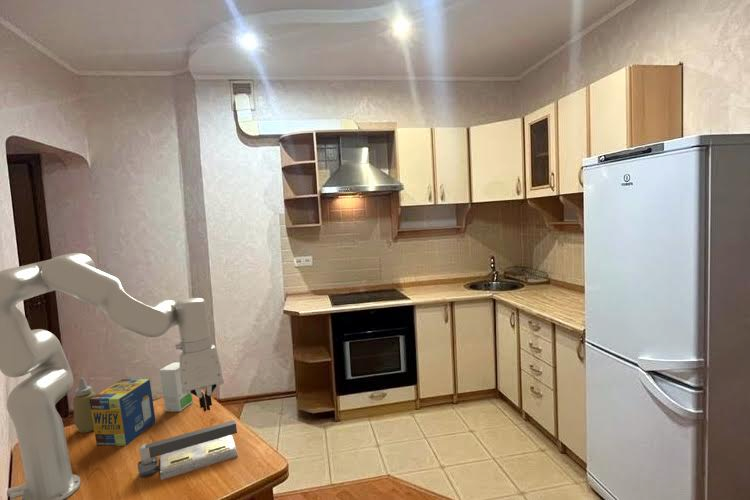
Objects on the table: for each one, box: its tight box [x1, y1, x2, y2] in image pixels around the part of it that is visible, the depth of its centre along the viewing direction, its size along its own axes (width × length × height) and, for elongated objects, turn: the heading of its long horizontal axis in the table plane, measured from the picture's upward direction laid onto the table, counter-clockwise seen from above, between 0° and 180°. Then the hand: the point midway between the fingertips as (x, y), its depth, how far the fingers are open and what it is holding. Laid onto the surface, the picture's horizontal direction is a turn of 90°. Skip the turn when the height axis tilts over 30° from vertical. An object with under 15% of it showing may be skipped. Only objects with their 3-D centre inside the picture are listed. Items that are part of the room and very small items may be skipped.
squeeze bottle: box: [72, 377, 97, 434], centre depth 150 cm, size 8×8×18 cm
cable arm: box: [138, 419, 238, 465], centre depth 127 cm, size 26×3×4 cm, turn 115°
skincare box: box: [158, 361, 194, 413], centre depth 162 cm, size 8×7×16 cm
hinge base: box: [137, 456, 160, 479], centre depth 123 cm, size 5×5×3 cm
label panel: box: [159, 434, 239, 481], centre depth 129 cm, size 20×12×2 cm, turn 115°
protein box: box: [89, 378, 156, 447], centre depth 145 cm, size 10×15×16 cm
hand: (206, 408), depth 122 cm, fingers closed
